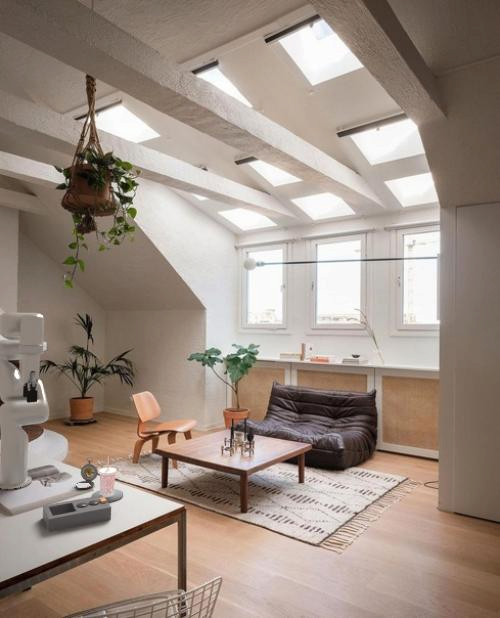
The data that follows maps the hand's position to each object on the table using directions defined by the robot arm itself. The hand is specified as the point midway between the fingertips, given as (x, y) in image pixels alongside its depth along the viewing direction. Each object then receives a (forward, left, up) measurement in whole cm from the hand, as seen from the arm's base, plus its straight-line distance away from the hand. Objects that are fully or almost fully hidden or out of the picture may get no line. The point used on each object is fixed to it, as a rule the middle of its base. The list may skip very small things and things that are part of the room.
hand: (29, 399), depth 165 cm
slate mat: (+6, +26, -36) cm, 45 cm away
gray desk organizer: (+19, +13, -36) cm, 43 cm away
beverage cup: (+6, +26, -36) cm, 45 cm away
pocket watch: (-8, +22, -36) cm, 43 cm away
